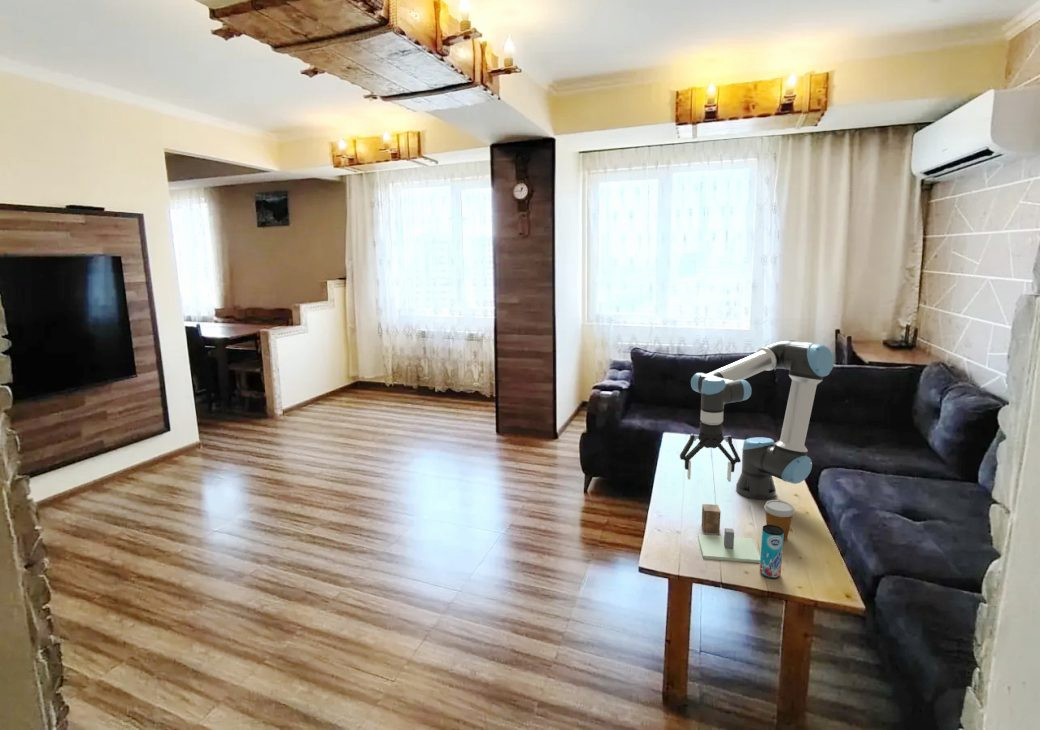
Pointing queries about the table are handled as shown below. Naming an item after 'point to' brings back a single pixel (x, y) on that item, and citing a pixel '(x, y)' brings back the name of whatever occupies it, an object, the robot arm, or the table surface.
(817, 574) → the table surface
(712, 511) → the box
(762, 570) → the teal and black cylinder
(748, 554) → the post board
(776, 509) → the disposable coffee cup
